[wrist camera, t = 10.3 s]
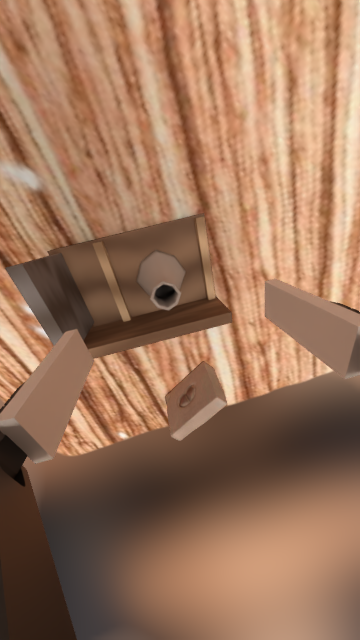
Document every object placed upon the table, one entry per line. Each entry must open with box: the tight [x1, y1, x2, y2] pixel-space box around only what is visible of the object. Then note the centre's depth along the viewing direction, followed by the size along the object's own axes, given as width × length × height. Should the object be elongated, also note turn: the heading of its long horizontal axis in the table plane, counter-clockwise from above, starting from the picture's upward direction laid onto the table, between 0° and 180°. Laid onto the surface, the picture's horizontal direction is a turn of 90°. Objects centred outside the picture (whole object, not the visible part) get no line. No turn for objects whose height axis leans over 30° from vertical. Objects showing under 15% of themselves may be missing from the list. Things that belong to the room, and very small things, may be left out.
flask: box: [136, 250, 186, 311], centre depth 25 cm, size 7×7×10 cm
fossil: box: [165, 362, 227, 441], centre depth 37 cm, size 12×4×10 cm, turn 137°
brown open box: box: [5, 213, 232, 359], centre depth 26 cm, size 14×22×10 cm, turn 102°
